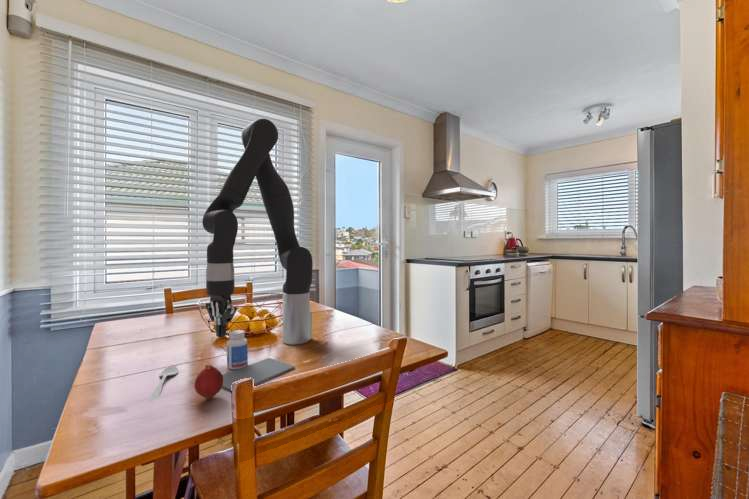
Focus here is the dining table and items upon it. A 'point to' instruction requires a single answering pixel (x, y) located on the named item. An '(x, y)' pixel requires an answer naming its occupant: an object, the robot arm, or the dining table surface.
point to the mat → (256, 372)
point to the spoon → (164, 373)
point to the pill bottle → (237, 350)
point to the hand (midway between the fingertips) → (221, 336)
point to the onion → (209, 382)
